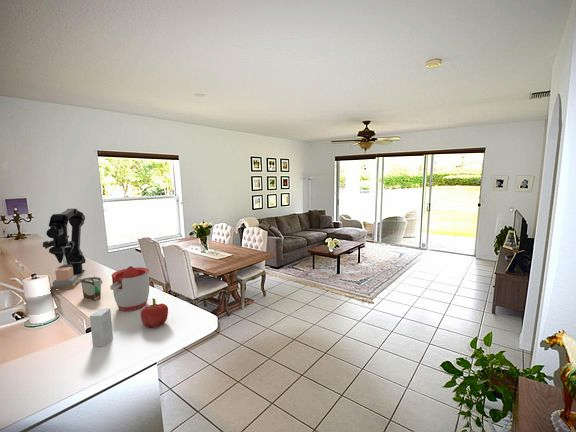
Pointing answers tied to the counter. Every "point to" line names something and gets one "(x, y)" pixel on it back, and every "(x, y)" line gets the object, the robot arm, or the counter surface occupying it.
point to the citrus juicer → (130, 287)
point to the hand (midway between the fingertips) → (63, 260)
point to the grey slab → (65, 282)
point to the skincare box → (101, 327)
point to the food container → (91, 288)
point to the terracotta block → (64, 274)
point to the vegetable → (154, 314)
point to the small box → (64, 260)
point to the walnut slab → (66, 286)
